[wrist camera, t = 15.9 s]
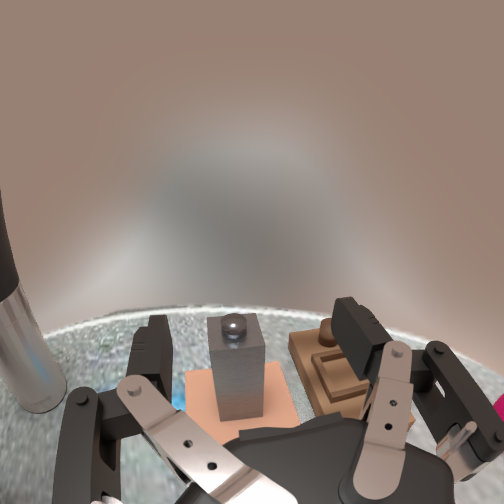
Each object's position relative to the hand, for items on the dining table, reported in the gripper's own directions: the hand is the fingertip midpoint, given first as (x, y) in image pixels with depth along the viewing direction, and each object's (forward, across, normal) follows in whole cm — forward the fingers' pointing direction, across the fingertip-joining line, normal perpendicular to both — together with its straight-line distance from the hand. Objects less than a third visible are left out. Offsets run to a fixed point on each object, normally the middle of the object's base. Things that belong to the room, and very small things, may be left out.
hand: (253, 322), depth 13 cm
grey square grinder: (+10, 0, +22) cm, 24 cm away
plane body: (+10, -14, +23) cm, 29 cm away
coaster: (+10, 0, +23) cm, 25 cm away
